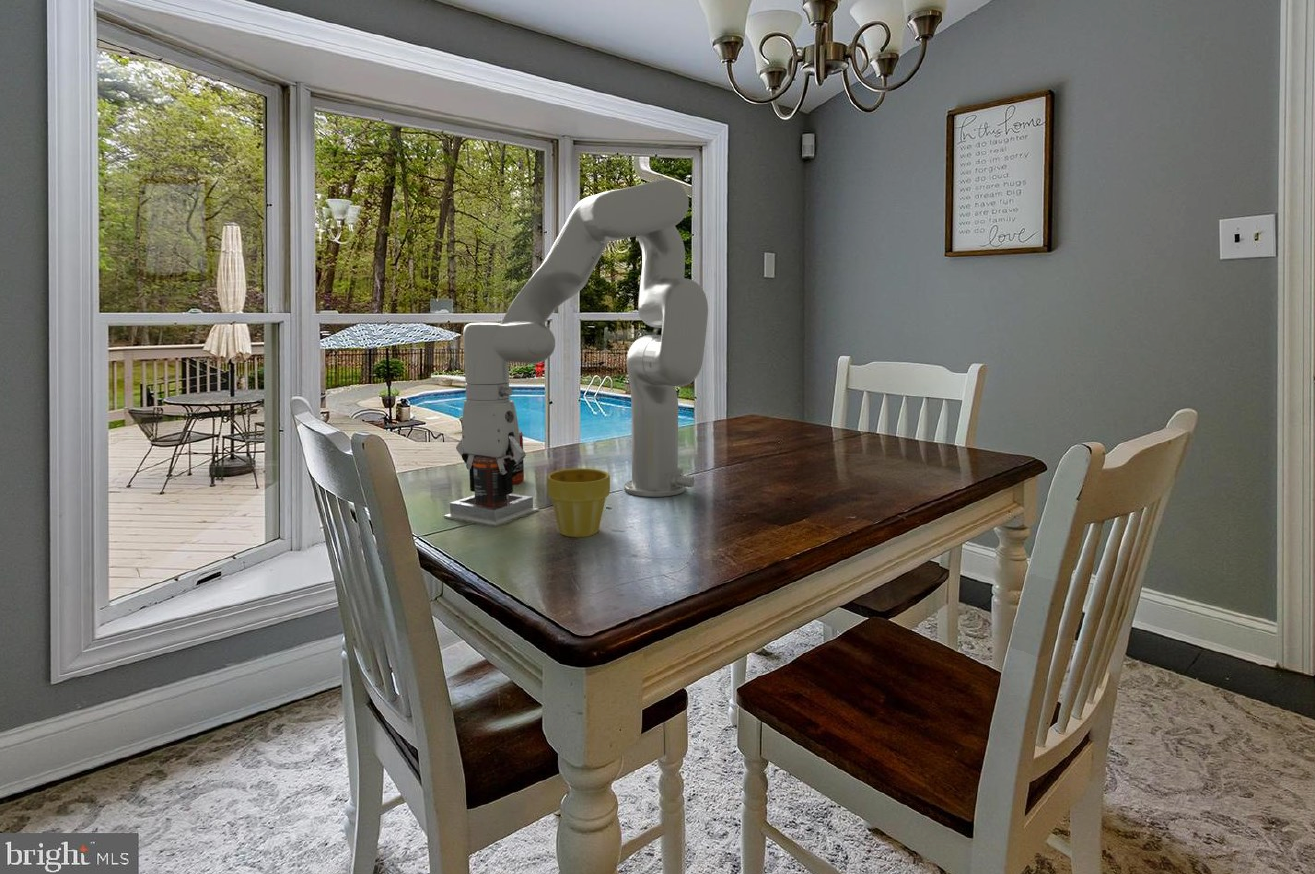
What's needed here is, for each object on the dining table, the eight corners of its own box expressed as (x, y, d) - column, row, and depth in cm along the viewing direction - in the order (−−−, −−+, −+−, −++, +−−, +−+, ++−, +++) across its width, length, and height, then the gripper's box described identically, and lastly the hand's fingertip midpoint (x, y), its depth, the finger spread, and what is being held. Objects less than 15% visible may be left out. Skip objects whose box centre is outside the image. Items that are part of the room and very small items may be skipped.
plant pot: (611, 540, 119) (610, 481, 117) (546, 541, 118) (544, 482, 116) (610, 522, 129) (609, 467, 127) (550, 523, 128) (549, 468, 126)
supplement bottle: (514, 502, 135) (513, 441, 133) (497, 510, 130) (495, 447, 128) (486, 499, 137) (484, 439, 135) (468, 507, 132) (465, 445, 130)
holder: (539, 510, 136) (538, 496, 136) (495, 527, 126) (494, 511, 125) (489, 502, 142) (489, 488, 141) (444, 517, 131) (443, 503, 131)
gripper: (539, 393, 129) (542, 493, 132) (466, 388, 137) (470, 482, 140) (511, 398, 123) (515, 503, 126) (436, 392, 131) (441, 490, 134)
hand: (491, 491), depth 133 cm, fingers closed on supplement bottle, 6 cm apart
